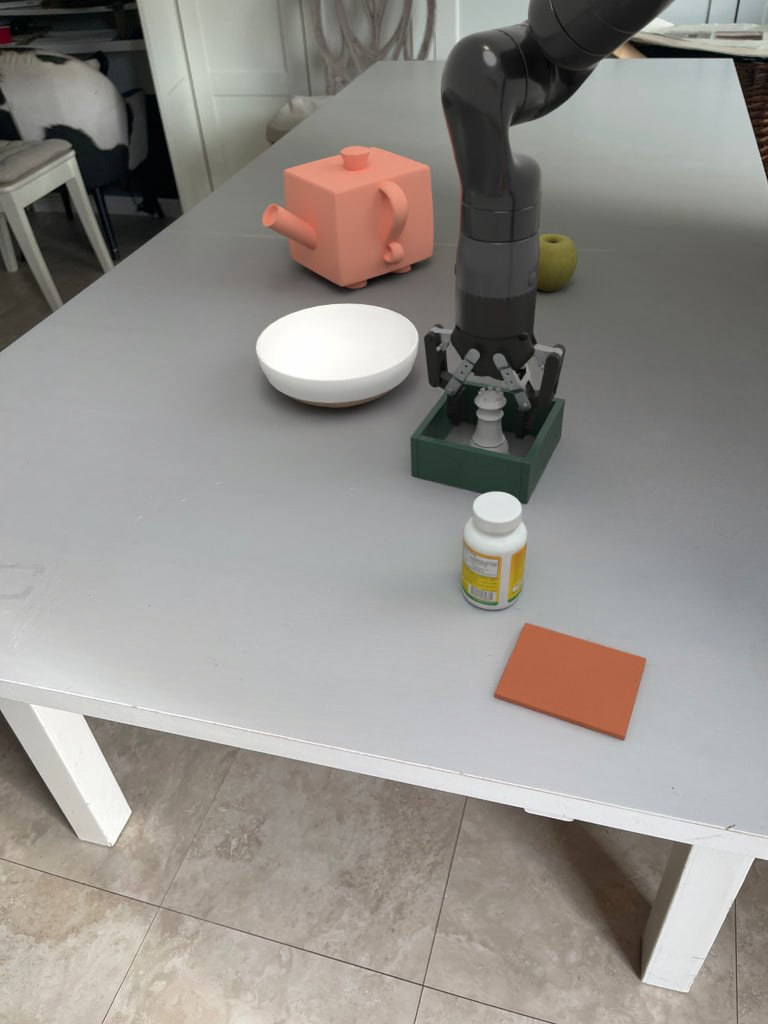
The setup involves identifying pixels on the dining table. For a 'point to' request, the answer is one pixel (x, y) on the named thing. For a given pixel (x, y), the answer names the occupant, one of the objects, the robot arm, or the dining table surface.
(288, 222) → the teapot
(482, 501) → the supplement bottle
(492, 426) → the rook chess piece
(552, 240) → the apple
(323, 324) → the bowl
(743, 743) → the dining table surface
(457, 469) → the holder
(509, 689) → the mat
